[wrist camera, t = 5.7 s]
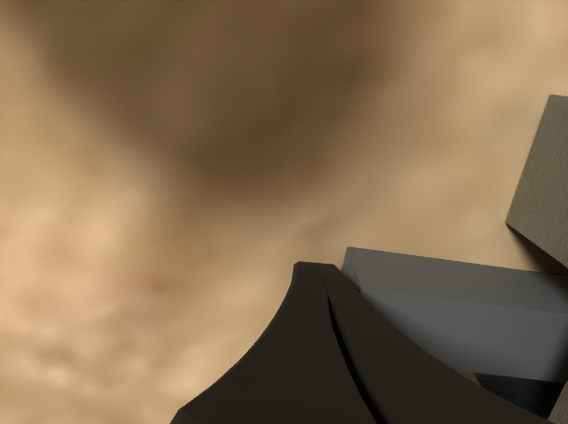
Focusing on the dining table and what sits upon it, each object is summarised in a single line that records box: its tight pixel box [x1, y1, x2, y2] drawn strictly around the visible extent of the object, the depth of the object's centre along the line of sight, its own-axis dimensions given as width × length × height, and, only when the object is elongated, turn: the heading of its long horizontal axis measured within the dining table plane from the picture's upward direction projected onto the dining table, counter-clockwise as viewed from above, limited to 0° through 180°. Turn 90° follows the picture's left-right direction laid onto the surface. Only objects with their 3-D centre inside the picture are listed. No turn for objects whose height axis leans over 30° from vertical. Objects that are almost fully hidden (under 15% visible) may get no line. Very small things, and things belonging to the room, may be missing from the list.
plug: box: [341, 247, 568, 383], centre depth 11 cm, size 12×3×3 cm, turn 81°
